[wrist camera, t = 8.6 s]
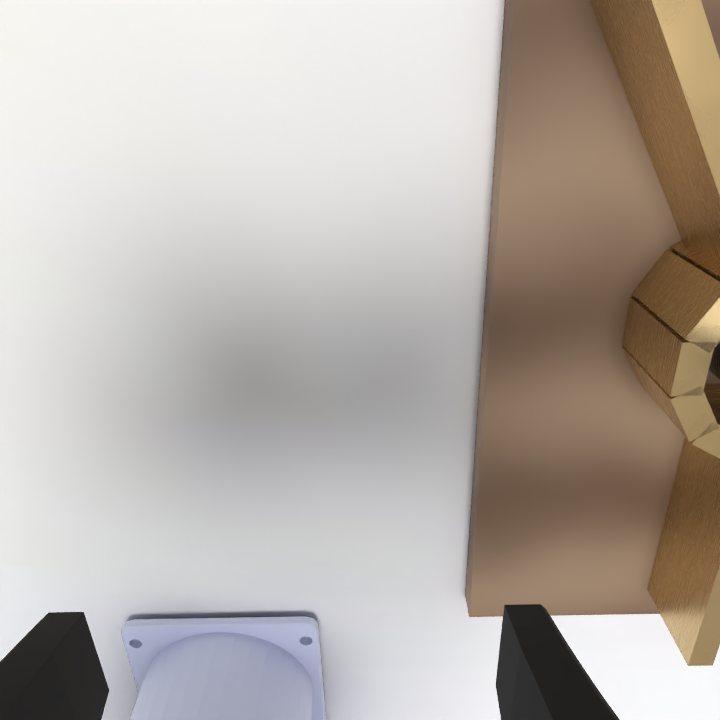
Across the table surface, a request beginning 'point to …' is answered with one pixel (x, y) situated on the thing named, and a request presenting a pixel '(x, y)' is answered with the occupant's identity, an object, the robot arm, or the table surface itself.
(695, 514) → the hinge
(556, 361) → the board
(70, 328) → the table surface
